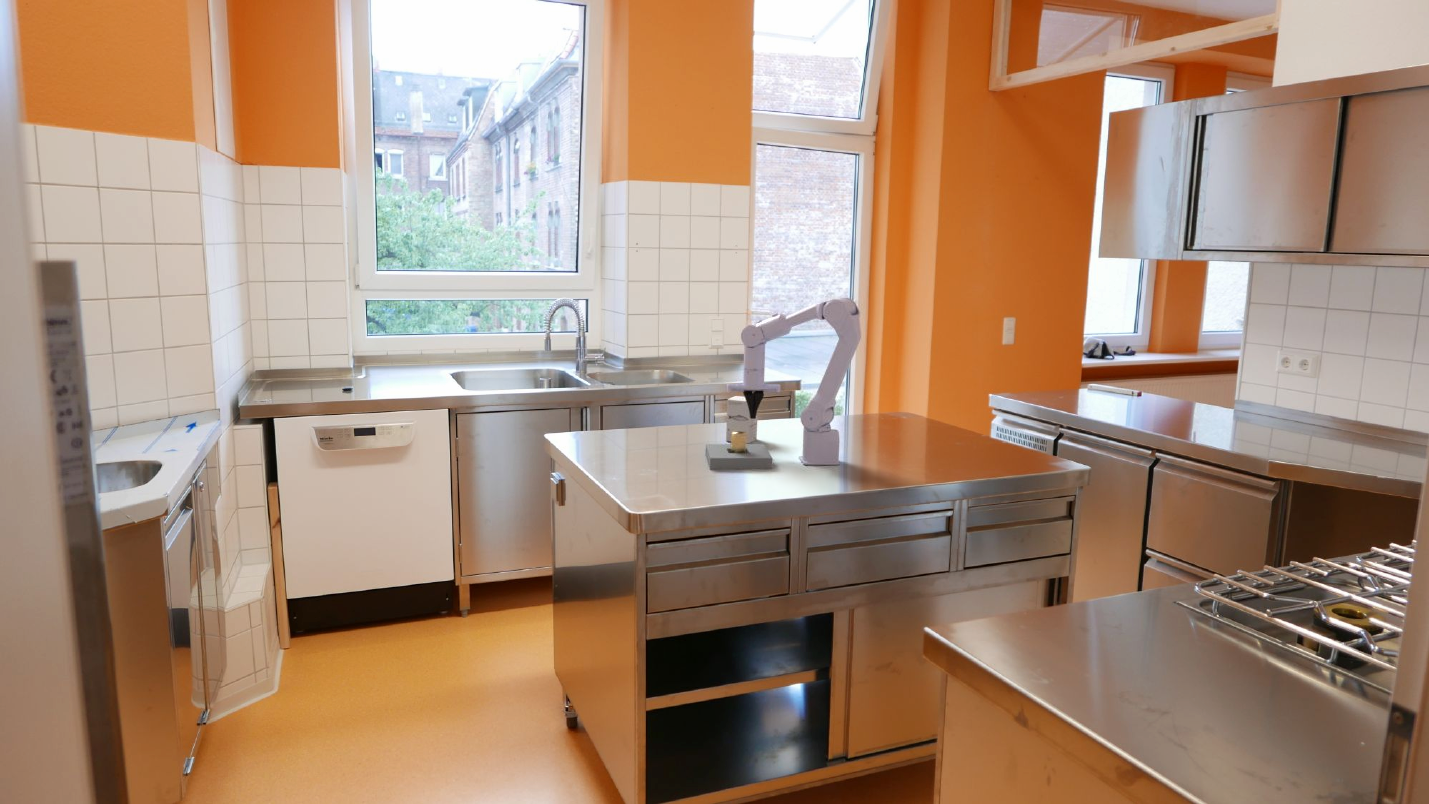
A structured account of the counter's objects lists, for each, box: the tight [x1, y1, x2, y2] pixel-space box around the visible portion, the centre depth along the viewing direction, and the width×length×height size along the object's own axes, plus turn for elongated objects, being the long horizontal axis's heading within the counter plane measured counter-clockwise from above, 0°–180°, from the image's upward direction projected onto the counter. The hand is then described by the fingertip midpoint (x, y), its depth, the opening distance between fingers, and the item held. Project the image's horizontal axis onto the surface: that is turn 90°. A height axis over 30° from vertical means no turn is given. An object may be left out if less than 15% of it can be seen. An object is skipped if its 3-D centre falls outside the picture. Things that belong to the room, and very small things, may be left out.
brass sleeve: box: [730, 431, 747, 453], centre depth 240 cm, size 4×4×8 cm
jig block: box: [704, 443, 773, 471], centre depth 240 cm, size 16×16×3 cm
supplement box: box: [725, 395, 759, 444], centre depth 265 cm, size 7×7×13 cm
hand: (752, 418), depth 249 cm, fingers closed
